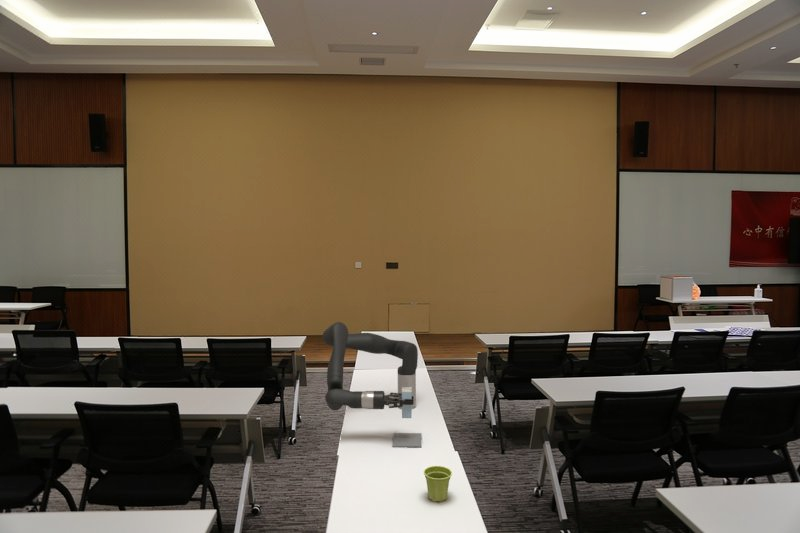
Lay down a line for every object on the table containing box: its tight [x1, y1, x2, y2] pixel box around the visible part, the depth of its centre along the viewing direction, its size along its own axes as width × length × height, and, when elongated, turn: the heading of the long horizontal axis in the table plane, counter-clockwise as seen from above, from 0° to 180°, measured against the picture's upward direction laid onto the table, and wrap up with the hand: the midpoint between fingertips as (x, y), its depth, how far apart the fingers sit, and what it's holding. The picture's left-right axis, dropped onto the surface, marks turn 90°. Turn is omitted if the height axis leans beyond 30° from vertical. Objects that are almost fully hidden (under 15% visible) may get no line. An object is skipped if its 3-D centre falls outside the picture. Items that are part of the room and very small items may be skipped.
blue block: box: [401, 387, 413, 419], centre depth 217 cm, size 4×4×12 cm
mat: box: [392, 432, 423, 449], centre depth 218 cm, size 14×12×1 cm
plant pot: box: [423, 465, 453, 502], centre depth 170 cm, size 9×9×9 cm
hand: (413, 400), depth 216 cm, fingers closed on blue block, 4 cm apart
